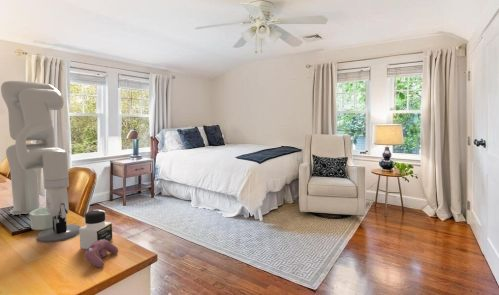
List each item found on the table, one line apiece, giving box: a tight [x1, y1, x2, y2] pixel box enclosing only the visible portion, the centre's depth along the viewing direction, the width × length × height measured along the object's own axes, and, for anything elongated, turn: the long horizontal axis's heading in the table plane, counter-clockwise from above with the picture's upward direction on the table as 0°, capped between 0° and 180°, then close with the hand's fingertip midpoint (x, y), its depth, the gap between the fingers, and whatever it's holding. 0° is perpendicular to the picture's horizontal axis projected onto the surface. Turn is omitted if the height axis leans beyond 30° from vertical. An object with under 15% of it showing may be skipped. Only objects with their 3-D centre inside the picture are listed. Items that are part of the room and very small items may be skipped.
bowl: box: [28, 206, 68, 231], centre depth 111 cm, size 12×12×6 cm
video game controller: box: [83, 239, 119, 268], centre depth 84 cm, size 10×5×7 cm, turn 178°
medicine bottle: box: [78, 209, 114, 250], centre depth 94 cm, size 7×7×12 cm
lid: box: [37, 219, 82, 243], centre depth 102 cm, size 13×13×6 cm
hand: (59, 230), depth 102 cm, fingers closed on lid, 3 cm apart
